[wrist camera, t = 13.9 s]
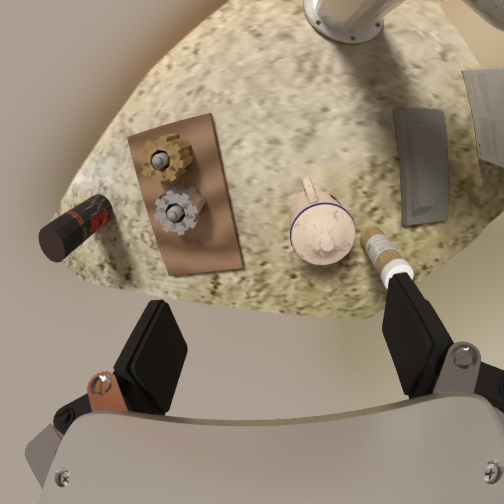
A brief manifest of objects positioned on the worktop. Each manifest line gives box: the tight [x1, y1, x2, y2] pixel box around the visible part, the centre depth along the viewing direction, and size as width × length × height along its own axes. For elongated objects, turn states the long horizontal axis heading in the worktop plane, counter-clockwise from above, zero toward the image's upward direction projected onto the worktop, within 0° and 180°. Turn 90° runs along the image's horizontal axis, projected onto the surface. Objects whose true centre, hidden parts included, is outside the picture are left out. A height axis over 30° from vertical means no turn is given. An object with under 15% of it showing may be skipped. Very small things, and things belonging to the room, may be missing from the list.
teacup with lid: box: [289, 177, 356, 265], centre depth 38 cm, size 12×9×12 cm
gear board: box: [127, 113, 243, 276], centre depth 40 cm, size 26×14×8 cm, turn 10°
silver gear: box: [154, 182, 206, 235], centre depth 40 cm, size 7×7×5 cm
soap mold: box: [393, 109, 449, 225], centre depth 36 cm, size 10×20×4 cm, turn 13°
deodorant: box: [39, 195, 113, 262], centre depth 39 cm, size 6×6×15 cm
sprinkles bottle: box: [360, 227, 413, 290], centre depth 38 cm, size 5×5×14 cm
